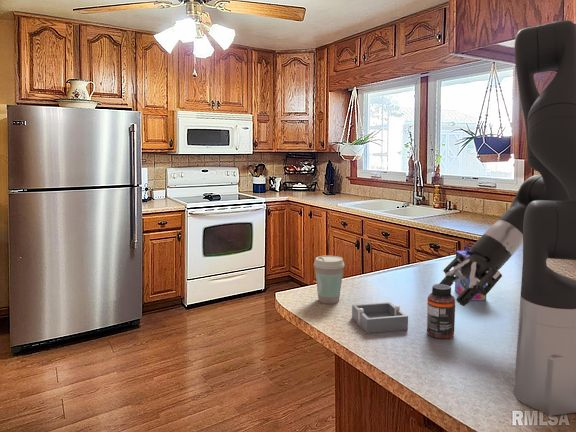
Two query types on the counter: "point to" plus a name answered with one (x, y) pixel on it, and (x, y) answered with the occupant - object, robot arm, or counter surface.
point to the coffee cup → (329, 278)
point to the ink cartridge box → (463, 284)
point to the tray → (379, 317)
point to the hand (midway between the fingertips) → (448, 297)
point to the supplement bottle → (441, 312)
